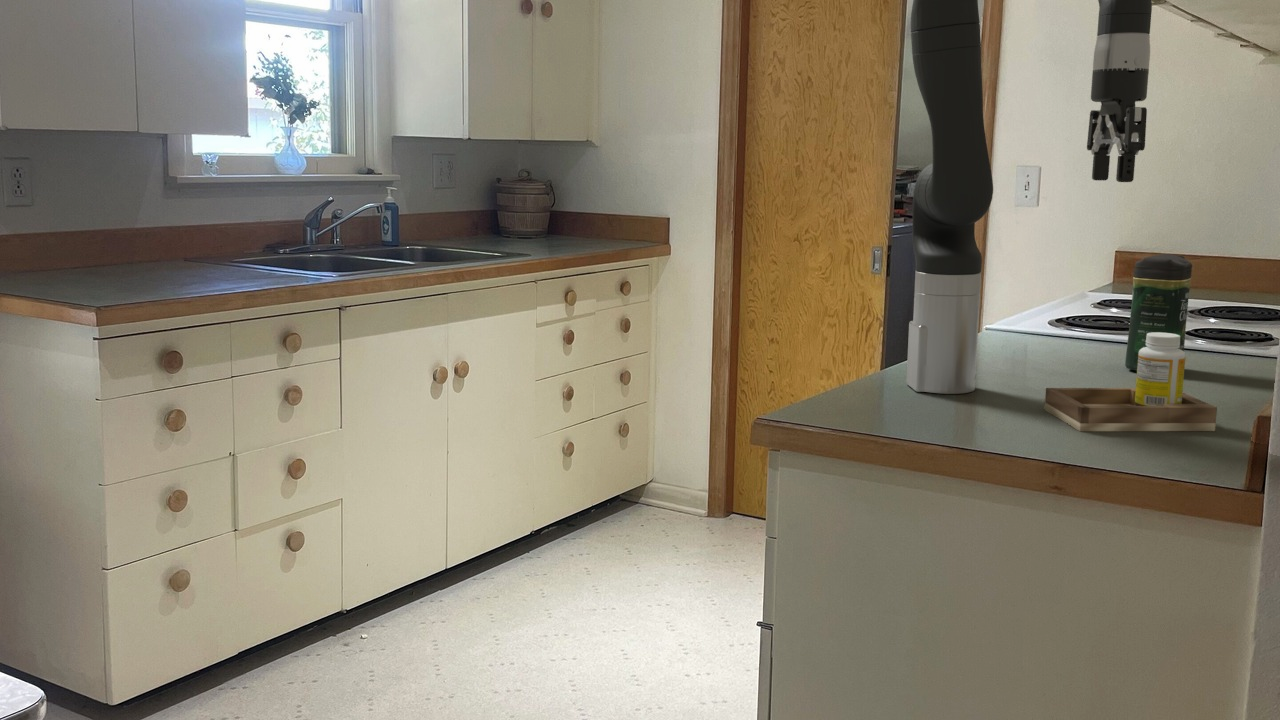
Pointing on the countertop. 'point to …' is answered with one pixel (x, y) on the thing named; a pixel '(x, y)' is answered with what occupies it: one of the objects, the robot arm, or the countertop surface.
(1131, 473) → the countertop surface
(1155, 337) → the supplement bottle
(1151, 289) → the coffee jar
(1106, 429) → the shallow wooden tray
